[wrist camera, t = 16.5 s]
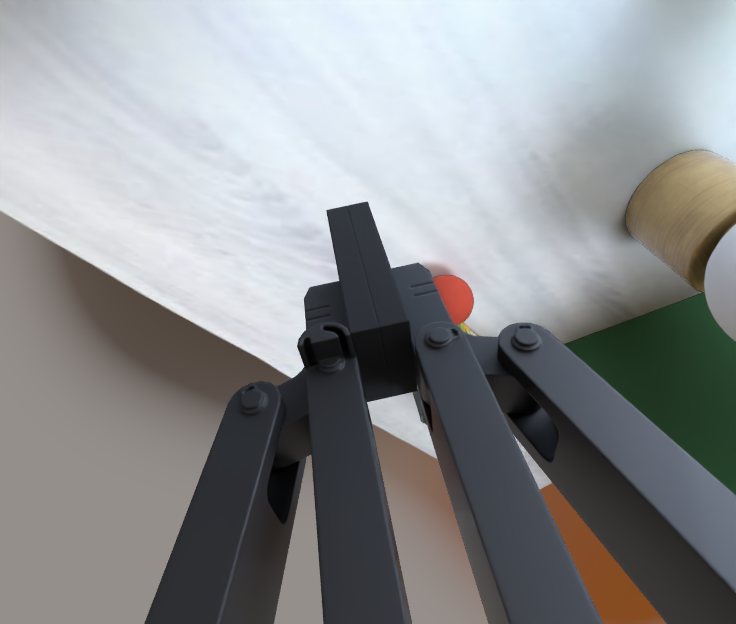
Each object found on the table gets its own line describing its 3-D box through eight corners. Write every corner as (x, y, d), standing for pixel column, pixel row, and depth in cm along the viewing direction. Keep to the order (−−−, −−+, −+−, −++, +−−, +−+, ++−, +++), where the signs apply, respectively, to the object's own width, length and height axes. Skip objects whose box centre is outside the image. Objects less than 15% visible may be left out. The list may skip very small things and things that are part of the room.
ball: (420, 323, 54) (428, 339, 49) (413, 275, 53) (420, 286, 47) (469, 314, 54) (482, 329, 48) (463, 266, 53) (476, 275, 47)
